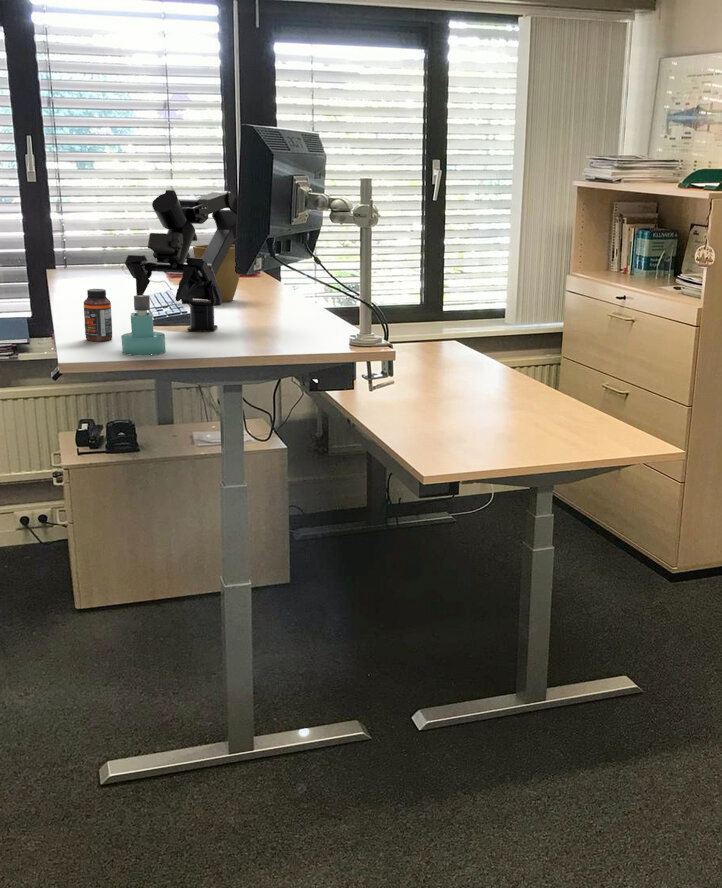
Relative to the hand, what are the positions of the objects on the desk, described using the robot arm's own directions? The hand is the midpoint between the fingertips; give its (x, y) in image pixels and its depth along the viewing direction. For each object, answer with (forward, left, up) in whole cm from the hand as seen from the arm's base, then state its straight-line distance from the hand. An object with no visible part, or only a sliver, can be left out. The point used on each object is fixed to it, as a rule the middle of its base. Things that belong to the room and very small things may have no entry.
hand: (157, 299), depth 201 cm
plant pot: (-74, +3, -11) cm, 75 cm away
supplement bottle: (-6, -15, -11) cm, 19 cm away
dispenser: (+7, -2, -10) cm, 13 cm away
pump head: (+7, -2, -7) cm, 10 cm away
